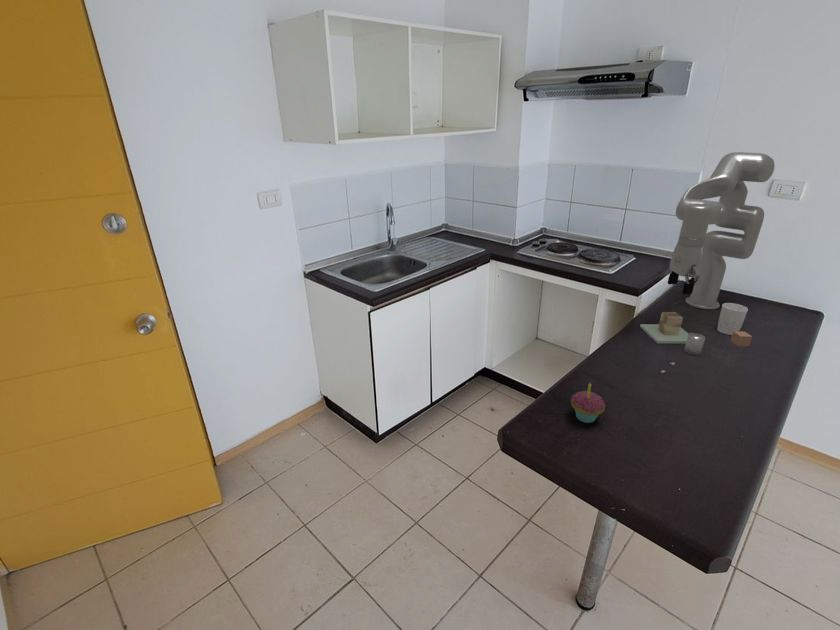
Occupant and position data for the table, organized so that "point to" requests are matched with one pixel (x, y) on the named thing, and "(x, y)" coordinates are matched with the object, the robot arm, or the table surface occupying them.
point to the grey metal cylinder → (694, 343)
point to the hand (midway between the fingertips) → (679, 288)
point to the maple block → (670, 323)
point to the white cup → (731, 318)
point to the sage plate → (661, 338)
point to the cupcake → (587, 405)
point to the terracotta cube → (741, 338)
